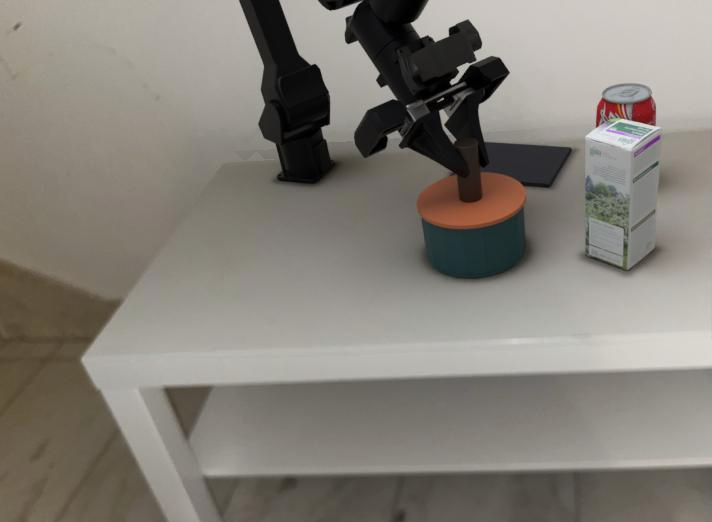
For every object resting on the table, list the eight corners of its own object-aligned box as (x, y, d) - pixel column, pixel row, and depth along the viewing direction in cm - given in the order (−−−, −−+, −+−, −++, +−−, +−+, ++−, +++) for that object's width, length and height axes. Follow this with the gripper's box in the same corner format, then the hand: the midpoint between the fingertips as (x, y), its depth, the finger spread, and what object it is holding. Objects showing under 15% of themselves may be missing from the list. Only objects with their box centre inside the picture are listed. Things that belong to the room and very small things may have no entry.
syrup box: (656, 248, 85) (665, 124, 76) (626, 273, 82) (631, 147, 73) (613, 233, 89) (616, 113, 80) (582, 257, 86) (582, 134, 77)
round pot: (412, 271, 88) (404, 221, 84) (449, 221, 96) (443, 173, 92) (506, 284, 83) (503, 232, 79) (537, 231, 91) (535, 181, 87)
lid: (400, 227, 84) (389, 163, 79) (442, 176, 92) (434, 116, 88) (505, 239, 79) (501, 172, 75) (540, 184, 88) (537, 121, 83)
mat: (449, 178, 105) (449, 175, 104) (477, 144, 112) (477, 141, 112) (549, 187, 99) (549, 183, 99) (571, 150, 107) (571, 147, 107)
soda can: (584, 188, 98) (584, 97, 91) (614, 166, 102) (617, 77, 94) (632, 202, 94) (636, 107, 87) (662, 179, 98) (669, 86, 90)
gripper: (349, 28, 71) (443, 169, 71) (491, -24, 80) (575, 100, 79) (318, 95, 81) (400, 218, 80) (448, 41, 89) (522, 152, 89)
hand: (476, 171), depth 82 cm, fingers closed on lid, 2 cm apart
